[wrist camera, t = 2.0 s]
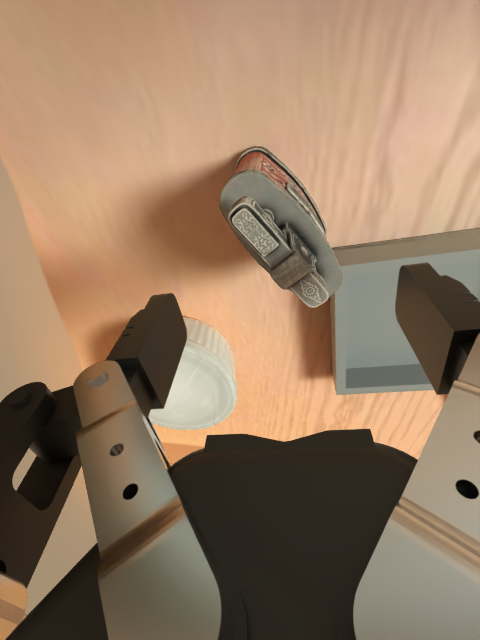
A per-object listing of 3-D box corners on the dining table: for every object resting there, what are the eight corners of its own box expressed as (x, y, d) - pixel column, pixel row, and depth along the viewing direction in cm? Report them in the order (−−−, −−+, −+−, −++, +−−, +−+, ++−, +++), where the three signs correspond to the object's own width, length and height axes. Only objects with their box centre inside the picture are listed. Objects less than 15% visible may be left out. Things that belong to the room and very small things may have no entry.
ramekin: (123, 297, 28) (96, 334, 24) (247, 313, 28) (242, 353, 24) (136, 381, 35) (117, 422, 31) (236, 394, 35) (231, 437, 30)
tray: (545, 219, 21) (580, 236, 18) (491, 360, 28) (511, 385, 26) (328, 248, 23) (334, 267, 21) (331, 370, 31) (336, 394, 28)
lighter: (336, 227, 22) (369, 305, 14) (298, 256, 24) (309, 340, 16) (262, 132, 19) (253, 164, 11) (223, 171, 21) (192, 225, 13)
